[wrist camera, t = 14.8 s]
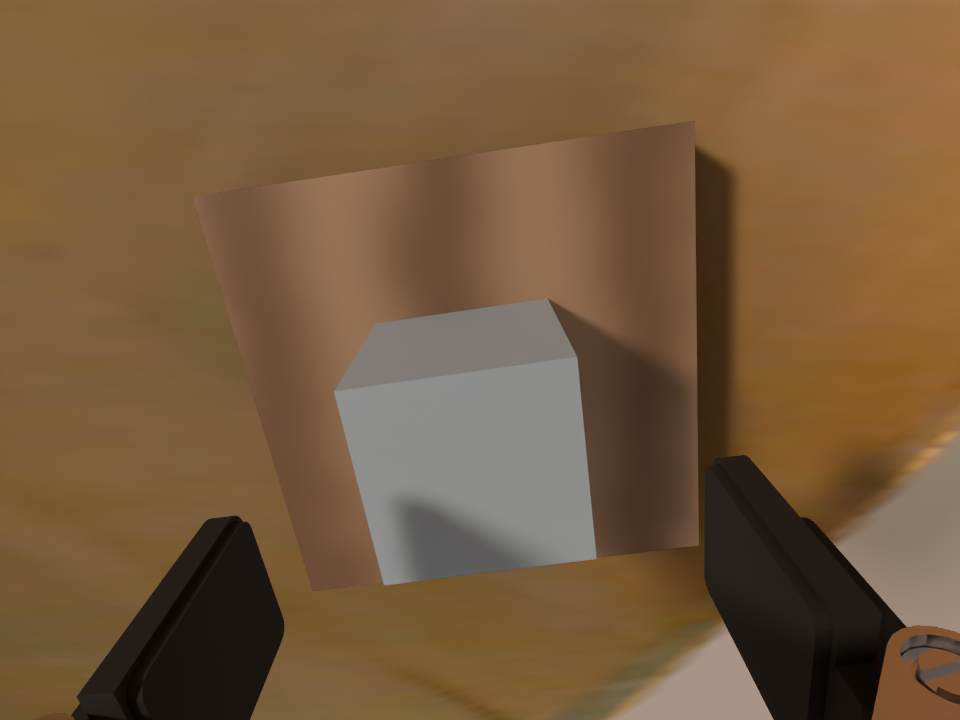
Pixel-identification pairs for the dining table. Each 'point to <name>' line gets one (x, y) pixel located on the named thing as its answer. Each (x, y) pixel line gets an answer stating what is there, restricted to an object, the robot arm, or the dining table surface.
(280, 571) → the dining table surface
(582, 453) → the light grey cube
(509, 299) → the walnut base
